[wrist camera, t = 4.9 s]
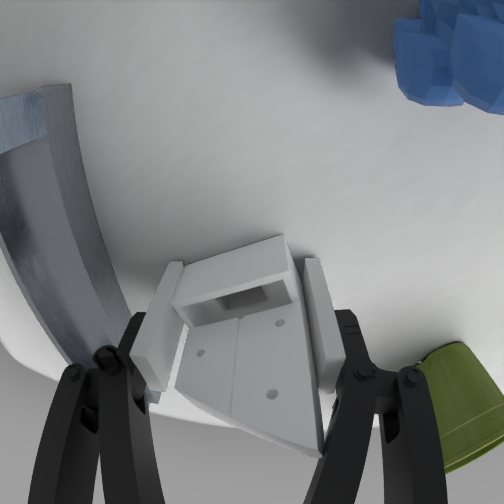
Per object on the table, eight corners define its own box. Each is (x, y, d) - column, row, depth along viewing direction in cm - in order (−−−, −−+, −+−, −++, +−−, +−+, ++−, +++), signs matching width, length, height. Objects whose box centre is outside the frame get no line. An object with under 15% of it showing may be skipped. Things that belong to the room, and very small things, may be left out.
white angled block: (388, 292, 13) (326, 460, 7) (236, 280, 19) (155, 382, 13) (381, 232, 11) (304, 433, 6) (214, 236, 17) (114, 341, 12)
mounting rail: (-6, 123, 10) (-60, 146, 6) (70, 83, 10) (1, 93, 6) (96, 371, 23) (80, 411, 19) (163, 382, 22) (152, 429, 18)
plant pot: (481, 300, 17) (541, 407, 7) (484, 355, 21) (517, 432, 12) (366, 372, 21) (391, 491, 11) (399, 406, 25) (418, 486, 16)
